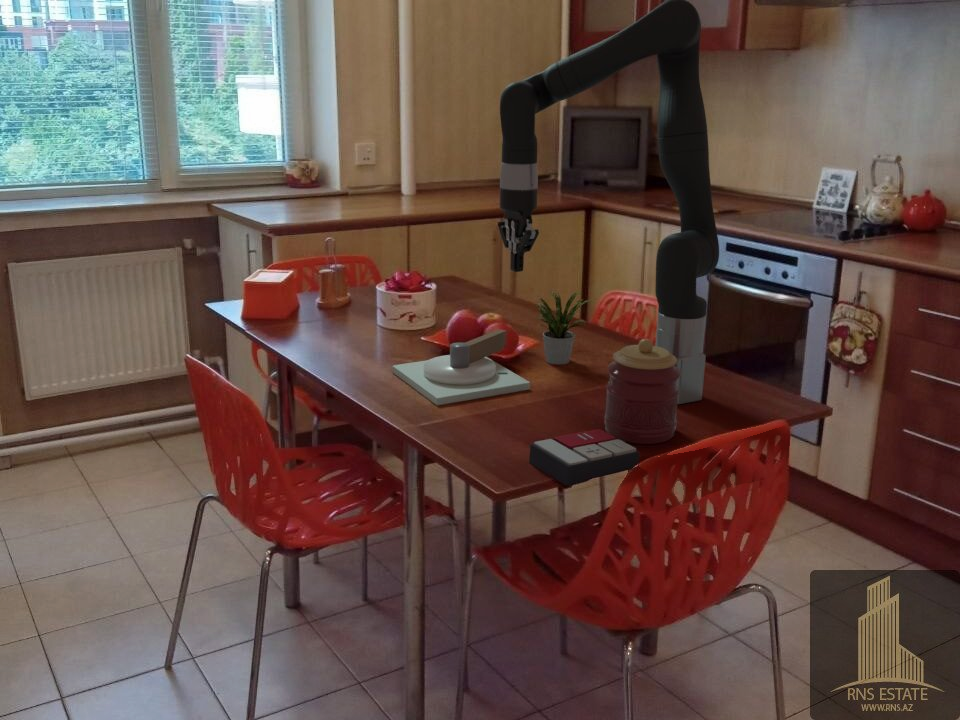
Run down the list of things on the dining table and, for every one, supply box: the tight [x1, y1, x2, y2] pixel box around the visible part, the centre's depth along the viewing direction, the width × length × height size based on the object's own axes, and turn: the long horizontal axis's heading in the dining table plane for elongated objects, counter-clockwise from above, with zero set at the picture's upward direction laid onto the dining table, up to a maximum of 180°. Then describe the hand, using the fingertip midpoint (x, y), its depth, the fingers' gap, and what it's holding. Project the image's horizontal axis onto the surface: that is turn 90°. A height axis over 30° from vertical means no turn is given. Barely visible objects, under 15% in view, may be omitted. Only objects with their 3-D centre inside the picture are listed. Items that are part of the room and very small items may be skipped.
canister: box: [603, 338, 681, 445], centre depth 169 cm, size 13×13×18 cm
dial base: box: [391, 356, 531, 406], centre depth 196 cm, size 22×21×2 cm
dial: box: [424, 329, 507, 385], centre depth 198 cm, size 24×15×6 cm, turn 145°
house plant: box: [534, 290, 597, 366], centre depth 208 cm, size 14×14×16 cm
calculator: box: [528, 428, 641, 487], centre depth 157 cm, size 11×4×15 cm
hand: (516, 270), depth 193 cm, fingers closed
